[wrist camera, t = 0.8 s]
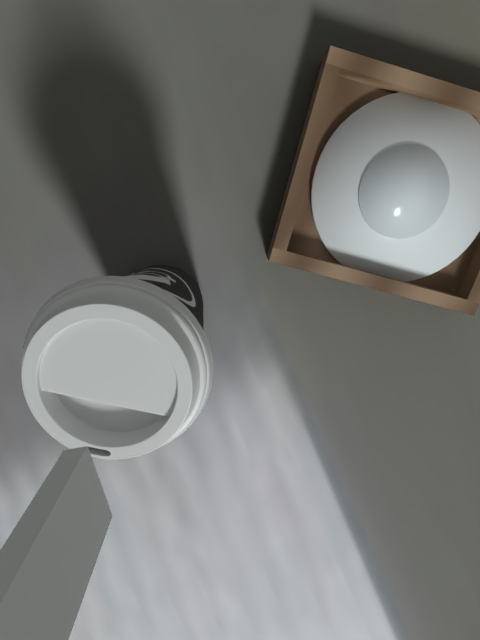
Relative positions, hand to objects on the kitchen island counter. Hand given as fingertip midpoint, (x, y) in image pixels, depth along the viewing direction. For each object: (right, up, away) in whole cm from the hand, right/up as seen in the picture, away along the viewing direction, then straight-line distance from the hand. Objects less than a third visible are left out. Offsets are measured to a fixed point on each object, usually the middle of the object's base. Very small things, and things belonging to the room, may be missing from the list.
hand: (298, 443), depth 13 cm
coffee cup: (-8, +5, +21) cm, 23 cm away
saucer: (+10, +13, +17) cm, 23 cm away
